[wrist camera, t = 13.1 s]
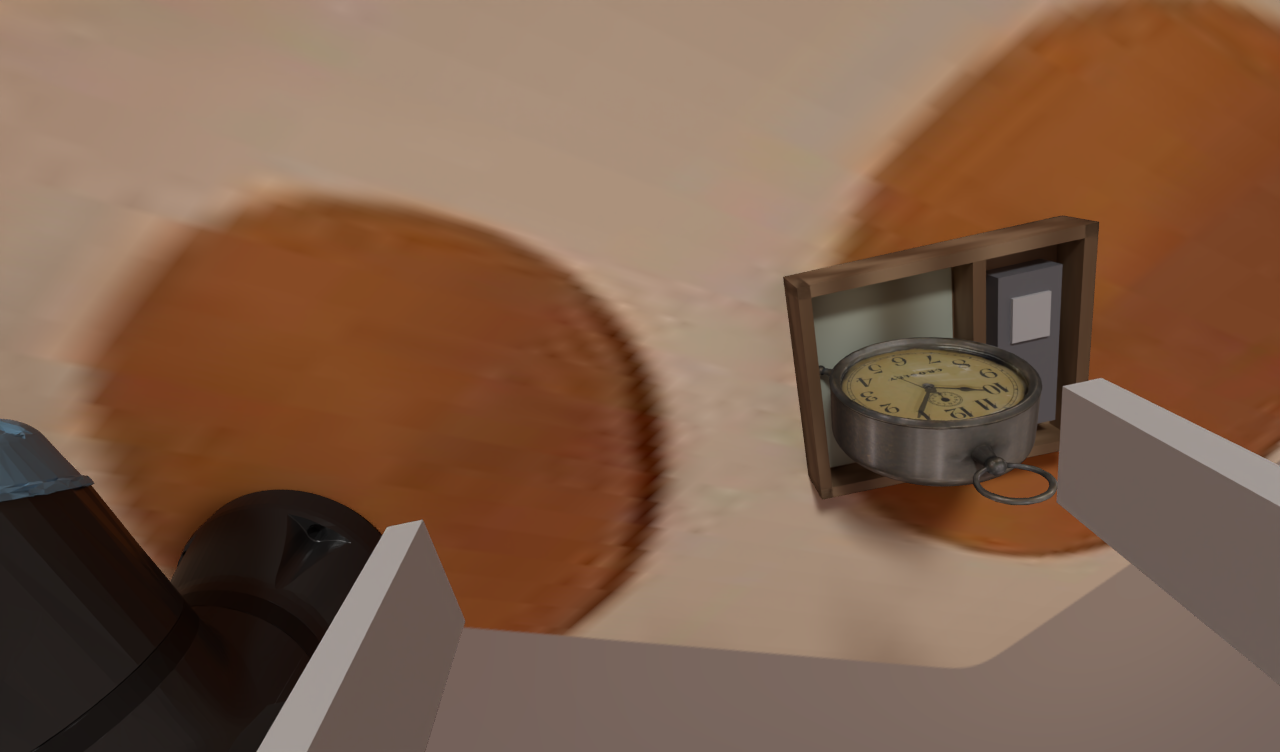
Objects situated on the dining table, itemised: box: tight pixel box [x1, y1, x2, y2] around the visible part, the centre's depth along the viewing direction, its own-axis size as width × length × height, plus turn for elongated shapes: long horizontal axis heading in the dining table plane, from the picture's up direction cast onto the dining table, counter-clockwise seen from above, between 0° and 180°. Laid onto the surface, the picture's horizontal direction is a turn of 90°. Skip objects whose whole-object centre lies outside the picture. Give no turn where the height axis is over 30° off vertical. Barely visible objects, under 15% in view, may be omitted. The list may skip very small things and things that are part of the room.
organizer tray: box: [783, 216, 1099, 499], centre depth 41 cm, size 18×16×3 cm
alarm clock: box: [819, 337, 1058, 505], centre depth 34 cm, size 11×5×16 cm, turn 100°
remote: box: [986, 258, 1063, 423], centre depth 40 cm, size 4×11×2 cm, turn 12°
